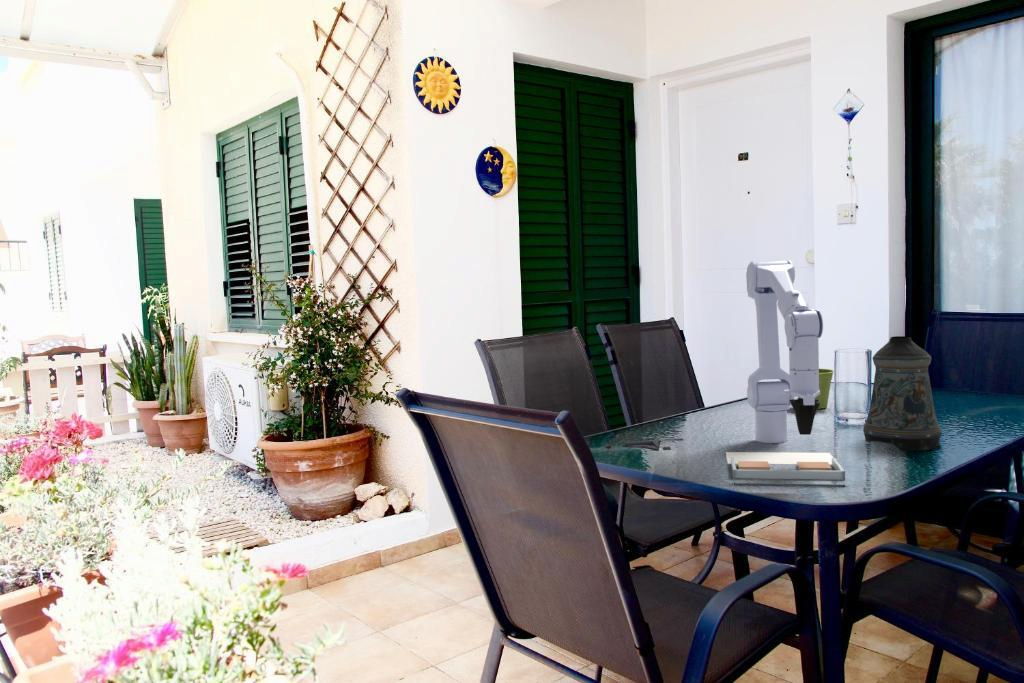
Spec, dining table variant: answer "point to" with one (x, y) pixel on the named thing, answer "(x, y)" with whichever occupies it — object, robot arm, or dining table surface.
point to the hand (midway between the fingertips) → (804, 434)
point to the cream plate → (779, 457)
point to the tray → (790, 475)
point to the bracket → (652, 442)
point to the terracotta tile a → (753, 465)
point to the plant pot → (824, 386)
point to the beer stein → (902, 398)
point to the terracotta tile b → (814, 466)
